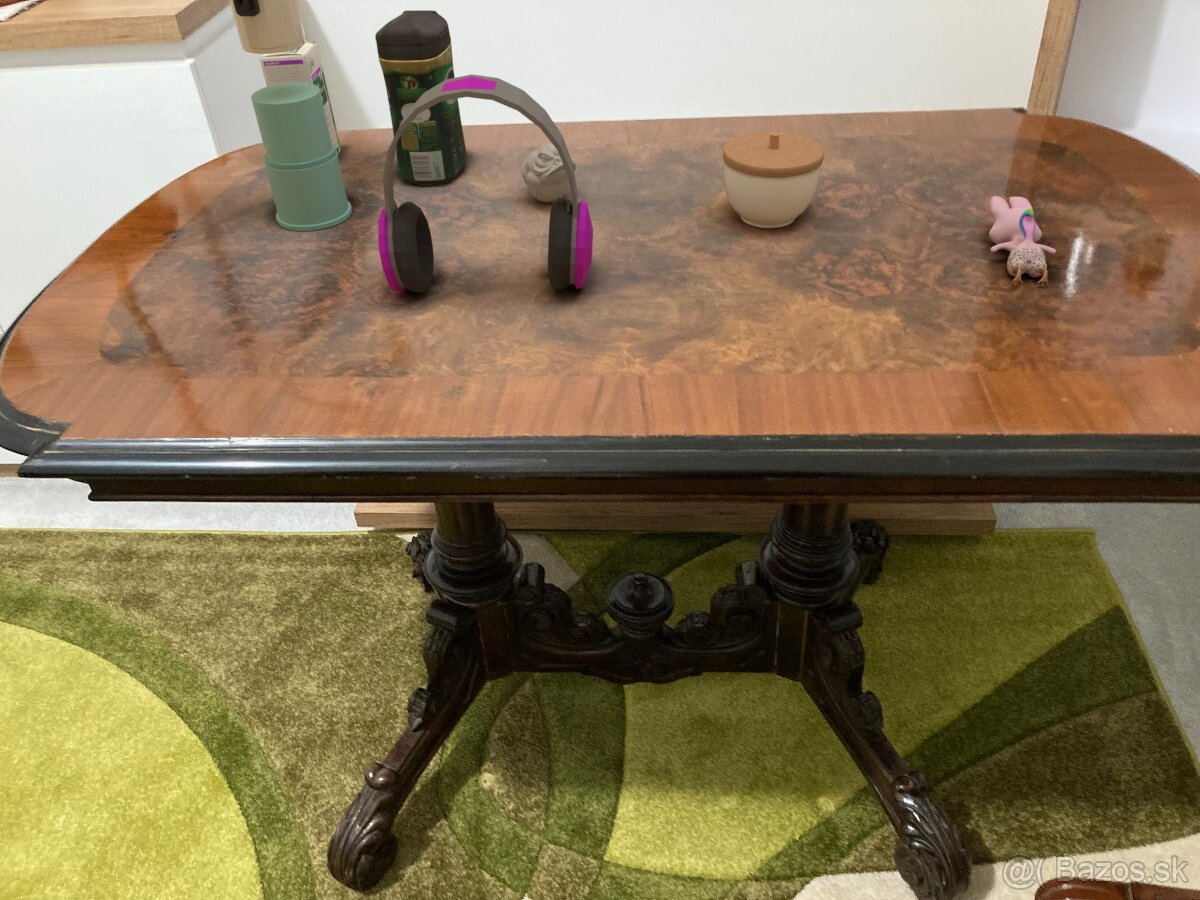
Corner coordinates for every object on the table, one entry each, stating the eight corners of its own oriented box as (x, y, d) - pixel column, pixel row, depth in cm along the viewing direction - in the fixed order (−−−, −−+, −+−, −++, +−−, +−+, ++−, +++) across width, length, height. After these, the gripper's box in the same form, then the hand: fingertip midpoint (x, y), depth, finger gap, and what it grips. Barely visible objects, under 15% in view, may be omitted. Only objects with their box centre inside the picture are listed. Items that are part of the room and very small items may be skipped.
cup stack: (307, 238, 103) (275, 111, 94) (262, 218, 107) (228, 96, 98) (367, 211, 108) (342, 89, 99) (321, 194, 112) (294, 75, 103)
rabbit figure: (1058, 298, 90) (1029, 211, 100) (1078, 248, 86) (1046, 162, 95) (991, 296, 91) (969, 210, 101) (1008, 246, 86) (984, 161, 96)
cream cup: (266, 57, 92) (244, -31, 87) (230, 47, 95) (207, -39, 90) (318, 42, 96) (300, -44, 91) (281, 33, 99) (262, -50, 94)
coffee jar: (415, 157, 121) (390, 4, 109) (473, 158, 120) (455, 4, 108) (391, 186, 113) (362, 26, 102) (453, 188, 112) (431, 26, 101)
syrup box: (333, 171, 118) (307, 53, 109) (287, 173, 118) (257, 54, 109) (342, 155, 122) (318, 39, 113) (298, 156, 122) (271, 41, 113)
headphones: (381, 310, 90) (339, 101, 77) (397, 267, 96) (361, 70, 84) (594, 305, 89) (586, 94, 77) (595, 263, 96) (588, 63, 83)
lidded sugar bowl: (702, 208, 106) (706, 126, 100) (783, 190, 109) (790, 110, 103) (750, 245, 98) (757, 159, 92) (835, 225, 101) (846, 141, 95)
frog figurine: (548, 217, 105) (544, 158, 101) (511, 199, 109) (506, 141, 105) (588, 202, 108) (586, 143, 104) (552, 185, 112) (548, 128, 108)
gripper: (216, -200, 89) (261, -11, 99) (135, -186, 78) (195, 25, 88) (289, -202, 88) (327, -11, 98) (217, -188, 77) (268, 25, 87)
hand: (264, 5), depth 93 cm, fingers closed on cream cup, 6 cm apart
